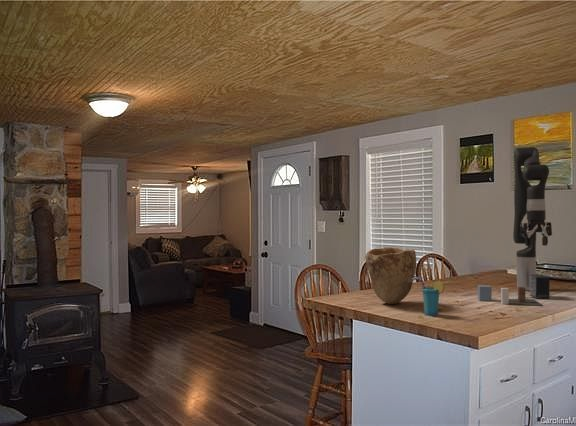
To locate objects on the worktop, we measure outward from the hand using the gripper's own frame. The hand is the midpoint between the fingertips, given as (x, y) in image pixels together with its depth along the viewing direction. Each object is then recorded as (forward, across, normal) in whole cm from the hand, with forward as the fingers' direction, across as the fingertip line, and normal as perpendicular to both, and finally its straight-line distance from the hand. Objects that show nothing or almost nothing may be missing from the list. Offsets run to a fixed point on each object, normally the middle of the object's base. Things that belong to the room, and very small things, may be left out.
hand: (536, 245), depth 225 cm
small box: (+26, -13, -14) cm, 33 cm away
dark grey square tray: (+26, +4, -4) cm, 27 cm away
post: (+26, +13, -4) cm, 29 cm away
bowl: (+26, +61, -19) cm, 69 cm away
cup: (+26, +57, +7) cm, 63 cm away
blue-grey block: (+26, +16, -15) cm, 34 cm away
